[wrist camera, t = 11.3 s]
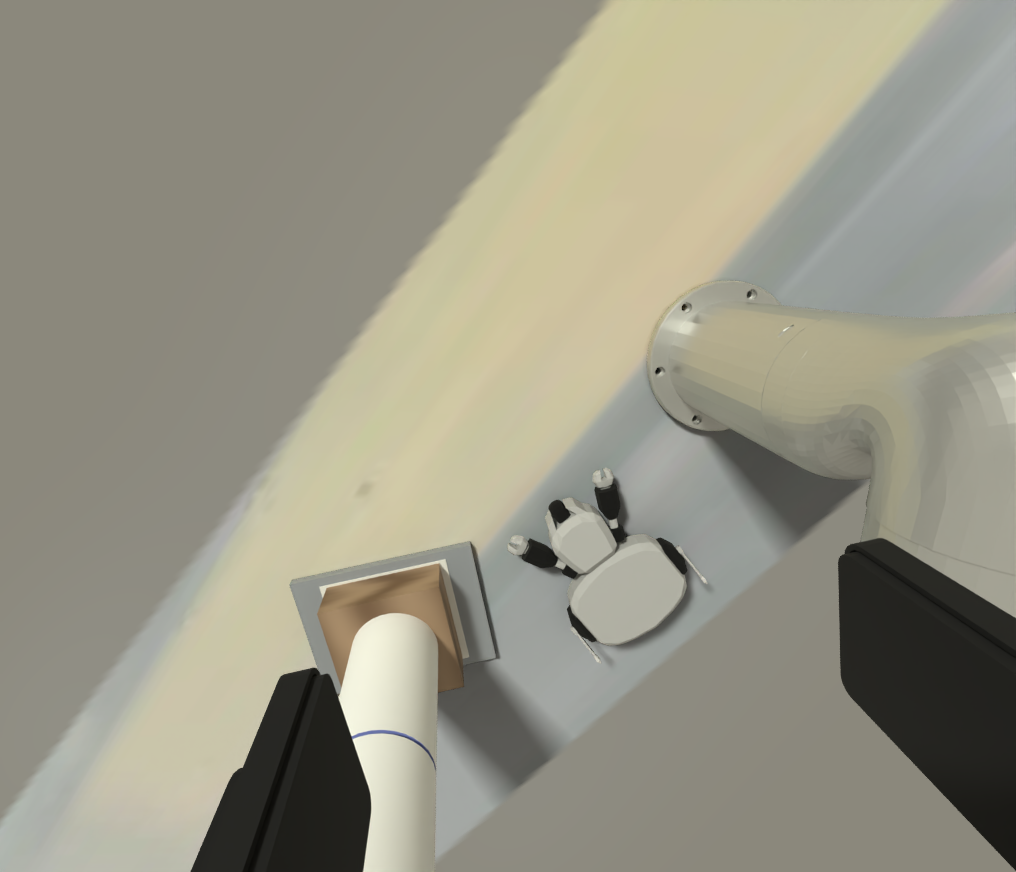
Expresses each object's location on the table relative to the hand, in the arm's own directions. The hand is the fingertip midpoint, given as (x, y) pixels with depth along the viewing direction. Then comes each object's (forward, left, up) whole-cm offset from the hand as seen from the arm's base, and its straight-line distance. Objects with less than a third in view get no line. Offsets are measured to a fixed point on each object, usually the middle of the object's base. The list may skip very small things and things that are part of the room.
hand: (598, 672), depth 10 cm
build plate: (+12, +22, -38) cm, 46 cm away
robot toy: (-7, +20, -39) cm, 44 cm away
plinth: (+12, +22, -37) cm, 45 cm away
